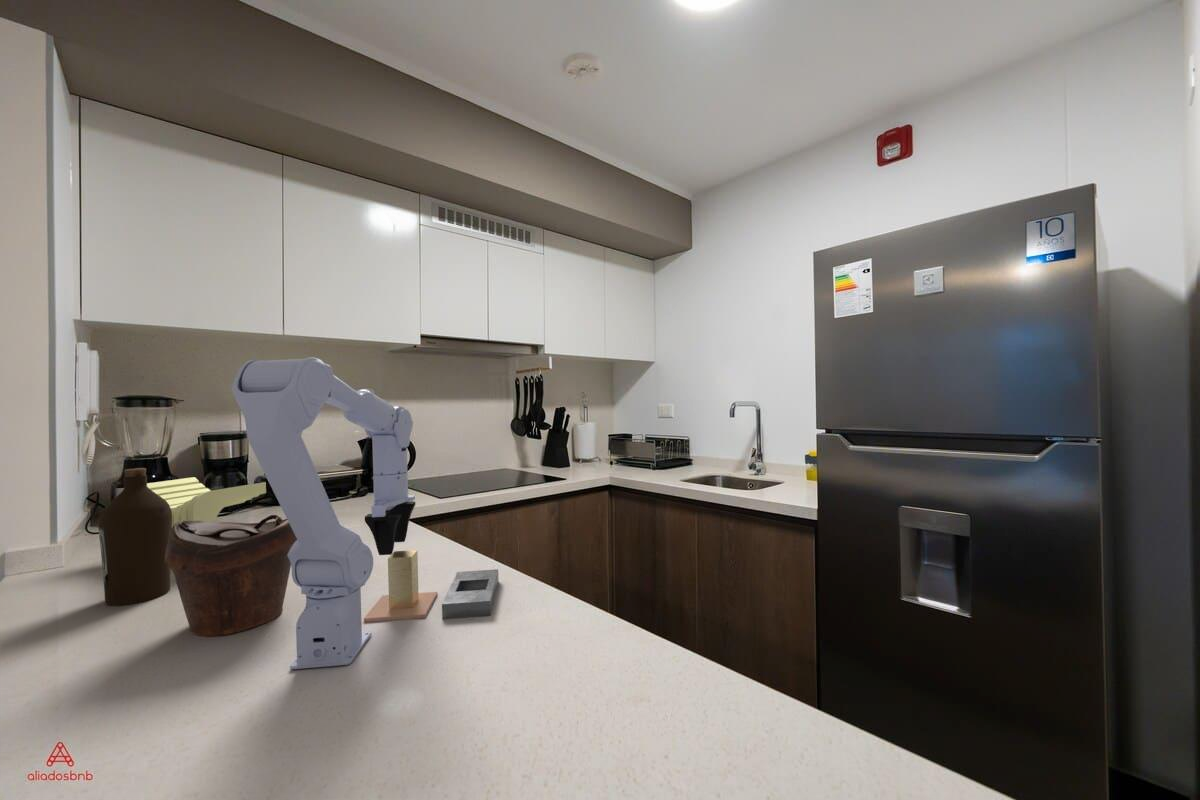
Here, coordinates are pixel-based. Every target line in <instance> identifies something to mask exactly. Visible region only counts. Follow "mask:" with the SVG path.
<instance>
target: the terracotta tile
mask: <svg viewBox="0 0 1200 800" xmlns="http://www.w3.org/2000/svg"><path fill="white" fill-rule="evenodd" d="M418 593H419V599H418V601H417V602H416V604H415V606H414V607H413V608H408V609H393V610H389V594H387V595H386V594H385V595H383V594H382V595H381V596H380V598H379V599H378V600H377V602H376V603H375V604H374V605H373V607H372V608H371V609H370V610H369V612H367V614H366V615H365V616H364V618H363V623H370V622H382V621H383V622H386V621H397V620H398V621H400V620H412V619H413V620H414V619H425V618H426V617H427V616H428V614H429V611H430V610H431V608H432V606H433V604H434V602H435V601H436V599H437V597H438V591H429V592H428V591H427V592H418Z"/></svg>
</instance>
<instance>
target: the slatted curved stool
mask: <svg viewBox="0 0 1200 800" xmlns="http://www.w3.org/2000/svg"><path fill="white" fill-rule="evenodd" d="M266 485H267V483H266V481H264V482H263V481H262V482H258V483H251V484H245V485H238V486H232V487H231V486H230V487H226V488H221V489H220V488H219V489H214V490H211V489H210V488H209V487H206V486H205V485H204V484H203V483H201V482H200V481H199V479H197V478H196V476H195V477H194V476H193V477H185V478H177V479H172V480H171V479H170V480H163V481H156V482H147V487H148V488H149V489H150V490H152V491H153V492H155V493H156V494H157V495H159V496H160V497H162V498H163V499H164V500H166V501H167V502H168V504H169V506H170V508H171V511H172V527H173V526H174V525H175V524H176V523H177V522H180V521H185V520H196V521H209V522H217V518H218V516H219V514H220V512H222V510H223V509H224V508H226V507H230V506H234V505H238V504H243V503H246V501H249V500H252V499H253V498H257V497H259V496H260V495H264V494H267V486H266Z"/></svg>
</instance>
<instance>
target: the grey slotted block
mask: <svg viewBox="0 0 1200 800" xmlns="http://www.w3.org/2000/svg"><path fill="white" fill-rule="evenodd" d="M499 579H500V578H499V569H485V570H484V569H483V570H481V569H480V570H467V571H466V570H465V571H457V572H456V575H455V577H454V579H453V581H452V582H451V585H450V587H449V589H448V591H447V593H446V595H445V597H444V599H443V601H442V604H441V617H442V618H441V619H442V620H447V619H457V618H459V619H461V618H472V617H473V618H474V617H487V616H491V615H492V610H493V608H494V603H495V599H496V594H497V590H498V585H499Z"/></svg>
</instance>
